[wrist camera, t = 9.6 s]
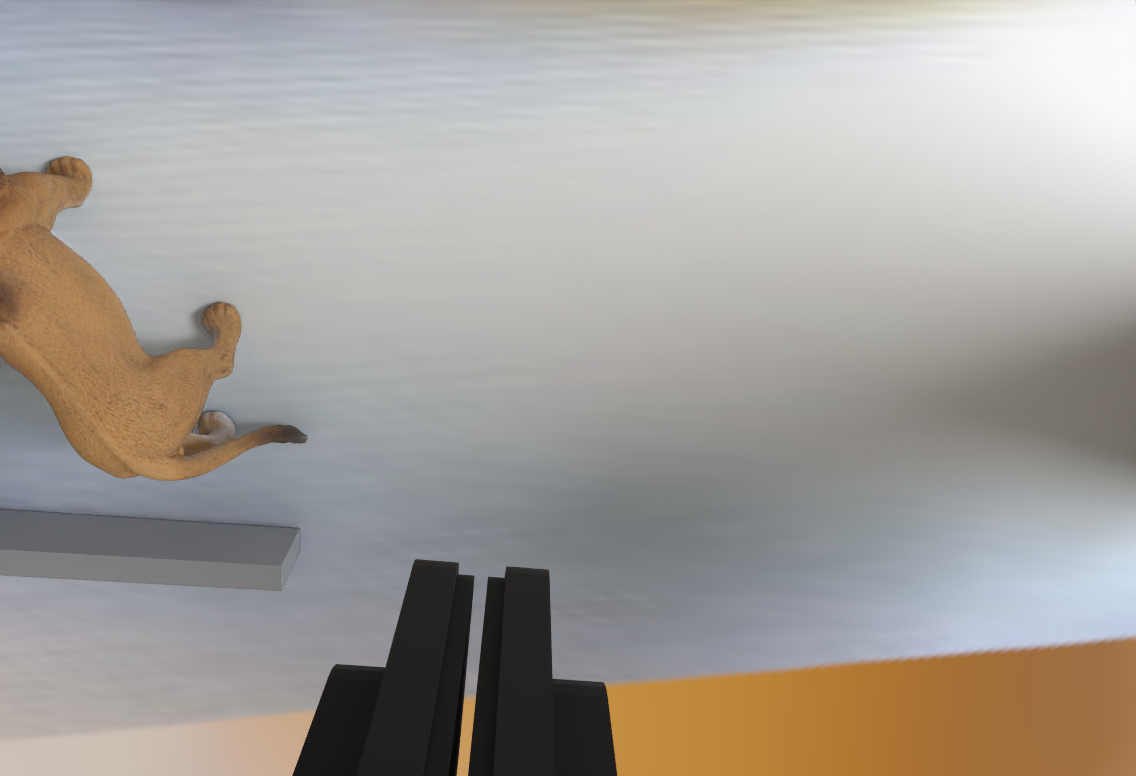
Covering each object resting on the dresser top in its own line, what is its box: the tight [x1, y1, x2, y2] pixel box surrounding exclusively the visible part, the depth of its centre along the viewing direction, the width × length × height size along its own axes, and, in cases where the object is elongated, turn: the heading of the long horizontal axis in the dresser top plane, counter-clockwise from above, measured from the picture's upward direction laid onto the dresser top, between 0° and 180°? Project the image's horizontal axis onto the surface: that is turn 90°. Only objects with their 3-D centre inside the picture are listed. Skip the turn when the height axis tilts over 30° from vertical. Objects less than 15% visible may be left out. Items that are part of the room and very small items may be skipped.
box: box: [0, 509, 300, 591], centre depth 24 cm, size 13×20×2 cm, turn 173°
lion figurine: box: [0, 156, 308, 481], centre depth 21 cm, size 15×5×9 cm, turn 45°
